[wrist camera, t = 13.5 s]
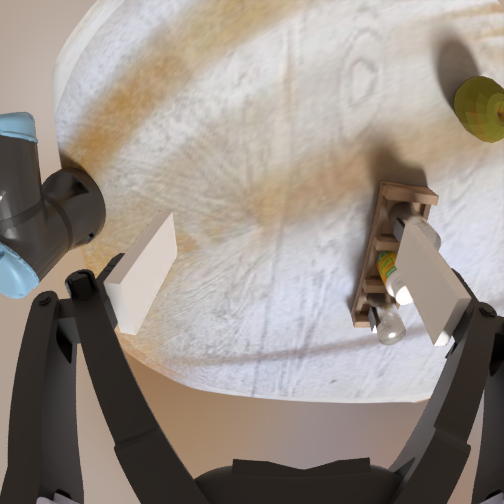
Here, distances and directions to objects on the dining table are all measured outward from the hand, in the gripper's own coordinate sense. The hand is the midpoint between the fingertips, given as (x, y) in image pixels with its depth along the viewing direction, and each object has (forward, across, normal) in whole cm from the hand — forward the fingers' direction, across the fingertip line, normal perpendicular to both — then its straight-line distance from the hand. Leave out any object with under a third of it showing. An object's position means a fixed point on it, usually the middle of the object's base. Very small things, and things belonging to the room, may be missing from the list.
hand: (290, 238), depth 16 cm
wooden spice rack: (+29, +20, -18) cm, 39 cm away
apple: (+29, +30, +11) cm, 43 cm away
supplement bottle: (+28, +20, -18) cm, 39 cm away
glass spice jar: (+28, +20, -26) cm, 43 cm away
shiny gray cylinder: (+28, +20, -10) cm, 35 cm away
